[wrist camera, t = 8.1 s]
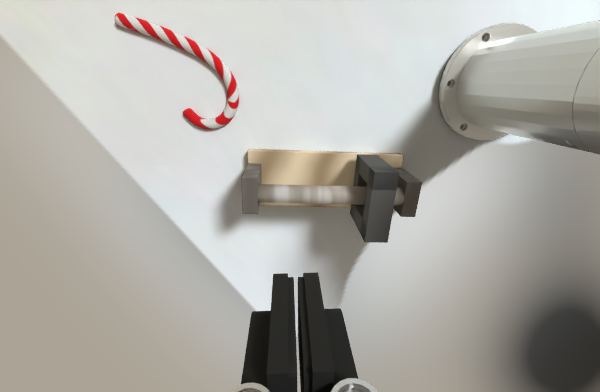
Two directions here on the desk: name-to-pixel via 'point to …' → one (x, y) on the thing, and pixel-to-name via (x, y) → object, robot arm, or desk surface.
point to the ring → (374, 197)
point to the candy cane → (199, 52)
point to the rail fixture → (316, 180)
